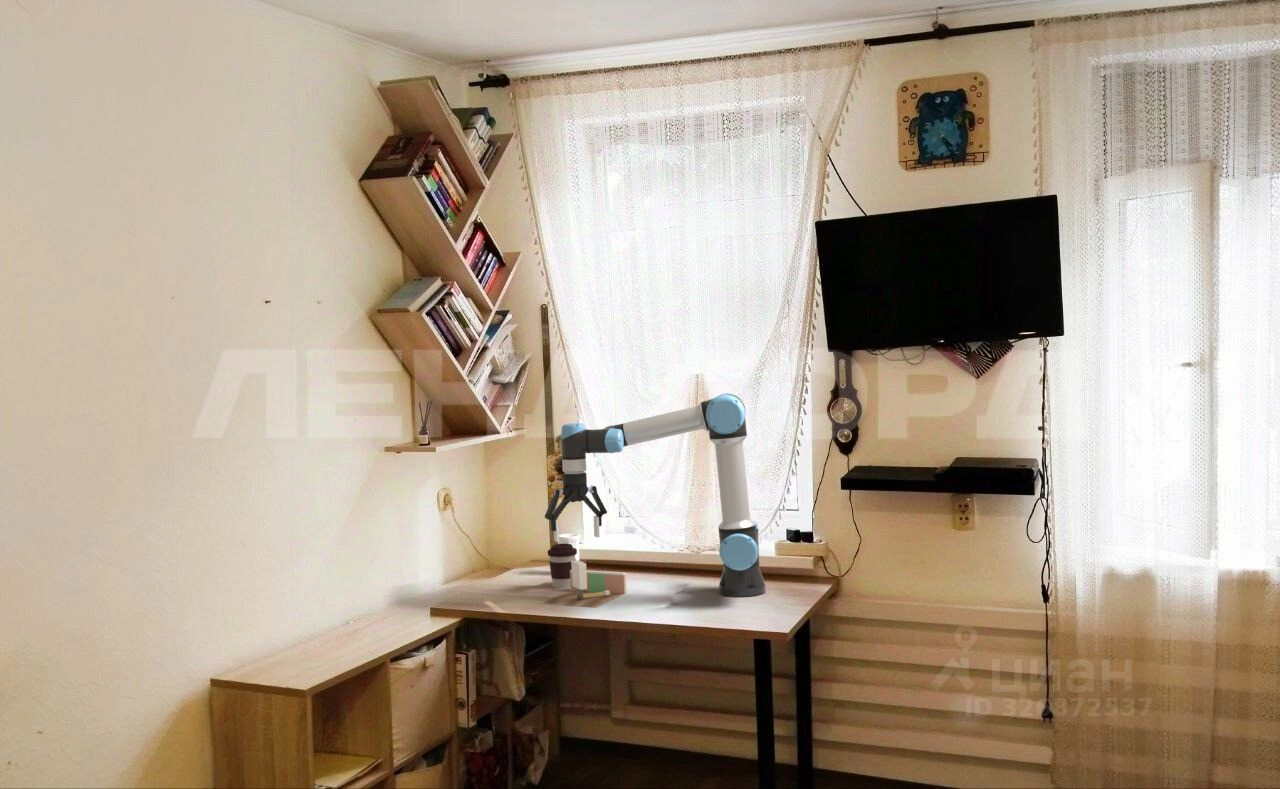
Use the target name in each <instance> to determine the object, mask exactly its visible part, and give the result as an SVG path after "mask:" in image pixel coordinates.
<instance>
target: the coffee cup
mask: <svg viewBox="0 0 1280 789" xmlns="http://www.w3.org/2000/svg"><path fill="white" fill-rule="evenodd" d="M576 554H577V549H576V548H573V546H572V545H571V544H559V543H556V544H553V545H551V548H550V549H548V550H547V556H548V557H549V568H550V576H551V580H552V587H553V588H555V589H556V588H557V589H566V588H567V589H568V588H571V582H570V570H572V566H571V561H575V560H576V559H575V555H576Z"/></svg>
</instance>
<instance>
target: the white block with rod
mask: <svg viewBox="0 0 1280 789" xmlns="http://www.w3.org/2000/svg"><path fill="white" fill-rule="evenodd" d="M571 566H572V586H574V587H576V588H577V600H579V601H580V600H583V598H587V597H594V596H601V595H610V591H608V590H607V591H604V592H597V593H590V594H583V589H587V572H586V570H587V563H586V562H584V561H582V560H580V559H579V560H575V561H571Z"/></svg>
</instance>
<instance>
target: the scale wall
mask: <svg viewBox="0 0 1280 789" xmlns="http://www.w3.org/2000/svg"><path fill="white" fill-rule="evenodd" d="M586 572H587V589H583V591H591V592H604V591H607V590H608V591H610V593H621V594H623V595H625V594H627V586H626V585H627V583H626V582H627V580H626V572H621V571H620V572H618V571H605V570H604V571H603V570H602V571H600V570H587V569H586ZM570 582H571V587H570V590H576V591H577V588H576V587H574V586H572V570H570Z"/></svg>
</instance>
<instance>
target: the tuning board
mask: <svg viewBox="0 0 1280 789" xmlns="http://www.w3.org/2000/svg"><path fill="white" fill-rule="evenodd" d="M590 593H597V592H591V591H583V594H590ZM623 595H624V594H621V593H610V595H601V596H594V597H587V598H583V600H580V601H579V600H577V591H576V590H571V589H570V590H568V591H565V592H564V593H561V594H560V595H556V596H554V597H552V598H549V599H547V600H545V601H543V602H540V603H539V604H540V605H553V606H554V605H555V606H566V607H569V606H570V607H578V608H579V607H580V608H593V609H596V608H599V607H601V606H602V605H604V604H607V603H609V602H611V601H613V600H615V599H617V598H619V597H620V596H623Z"/></svg>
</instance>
